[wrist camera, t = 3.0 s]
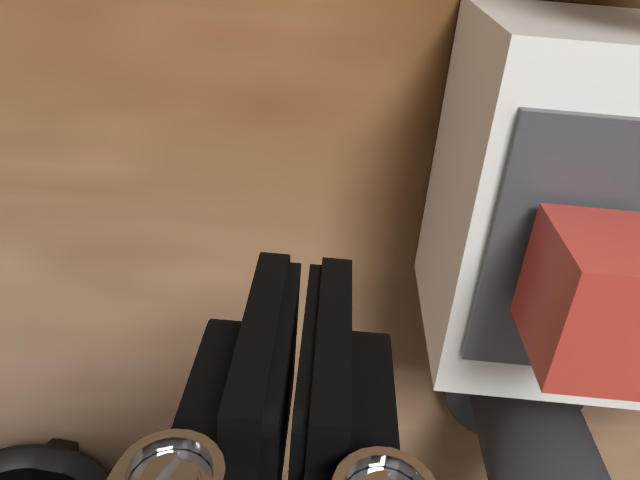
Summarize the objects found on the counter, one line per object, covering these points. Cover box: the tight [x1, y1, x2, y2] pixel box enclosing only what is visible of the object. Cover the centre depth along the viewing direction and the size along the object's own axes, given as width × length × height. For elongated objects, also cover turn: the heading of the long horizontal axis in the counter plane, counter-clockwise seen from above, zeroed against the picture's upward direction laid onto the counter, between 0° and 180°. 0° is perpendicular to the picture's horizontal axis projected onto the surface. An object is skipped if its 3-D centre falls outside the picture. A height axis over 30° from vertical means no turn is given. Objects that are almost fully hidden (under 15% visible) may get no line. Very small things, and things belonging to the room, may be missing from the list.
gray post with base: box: [444, 392, 611, 480], centre depth 22 cm, size 6×6×9 cm
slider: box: [510, 203, 640, 402], centre depth 13 cm, size 2×3×3 cm
